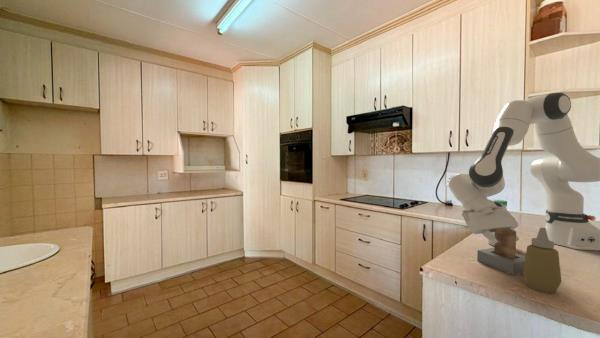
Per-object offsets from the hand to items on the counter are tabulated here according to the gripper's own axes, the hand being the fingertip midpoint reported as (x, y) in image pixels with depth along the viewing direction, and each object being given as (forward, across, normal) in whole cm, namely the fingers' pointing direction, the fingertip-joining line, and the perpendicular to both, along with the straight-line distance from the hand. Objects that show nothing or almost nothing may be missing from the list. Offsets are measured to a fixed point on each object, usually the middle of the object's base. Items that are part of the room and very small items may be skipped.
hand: (506, 241), depth 85 cm
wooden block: (+5, 0, +6) cm, 8 cm away
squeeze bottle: (+16, -6, -3) cm, 18 cm away
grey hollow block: (+6, 0, +7) cm, 9 cm away
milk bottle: (-5, +20, +18) cm, 28 cm away
